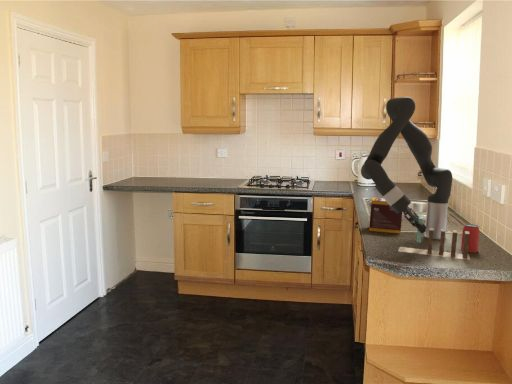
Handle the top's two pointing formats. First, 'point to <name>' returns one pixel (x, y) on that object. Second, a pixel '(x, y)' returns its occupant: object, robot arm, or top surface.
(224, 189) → the top surface
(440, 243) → the walnut domino
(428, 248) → the walnut domino
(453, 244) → the walnut domino
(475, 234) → the beer can
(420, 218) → the teal domino
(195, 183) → the top surface
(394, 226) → the supplement box
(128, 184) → the top surface
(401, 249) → the birch board
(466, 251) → the walnut domino
